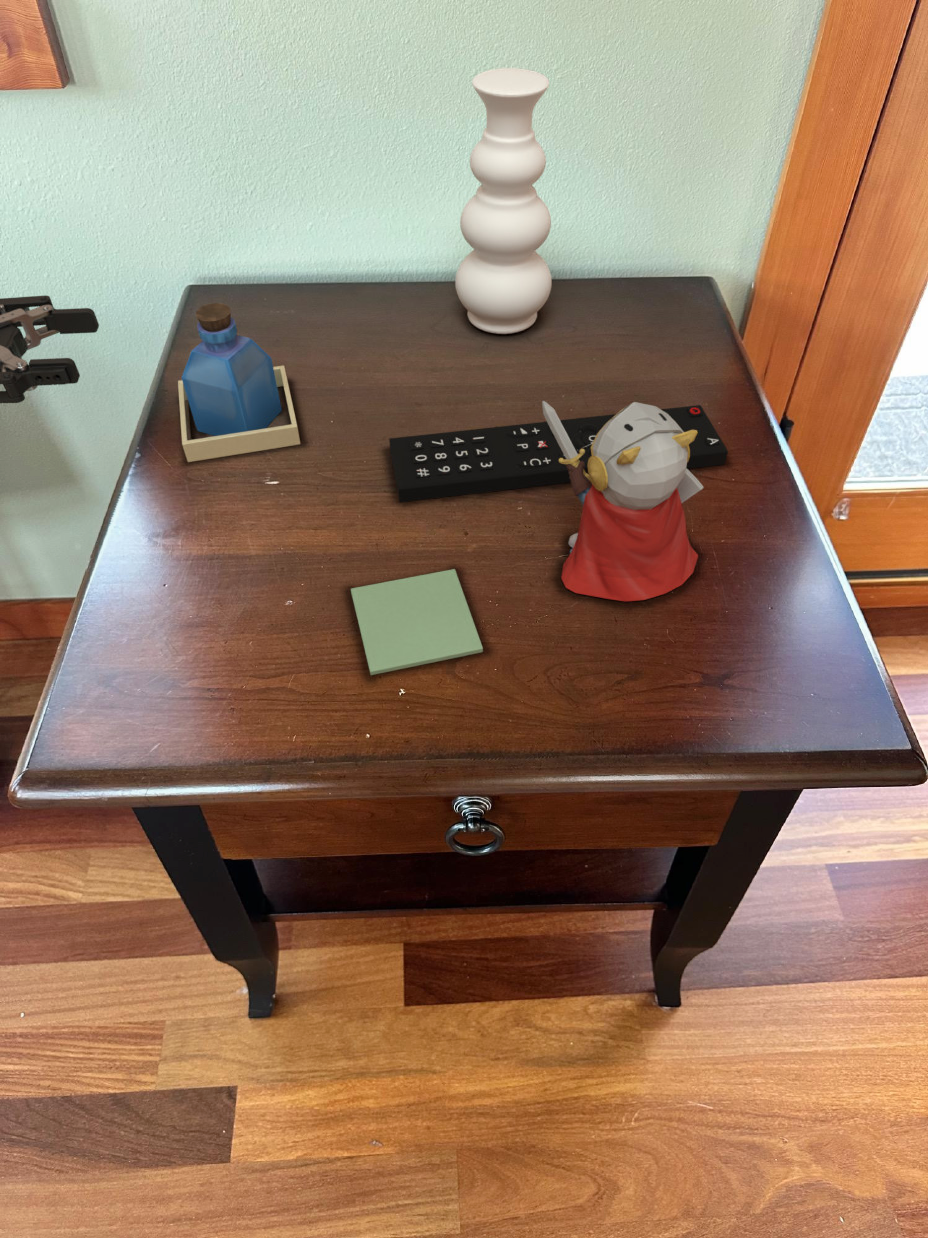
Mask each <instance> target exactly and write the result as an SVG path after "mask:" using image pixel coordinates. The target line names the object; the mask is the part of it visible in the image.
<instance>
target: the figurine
mask: <svg viewBox="0 0 928 1238" xmlns="http://www.w3.org/2000/svg"><path fill="white" fill-rule="evenodd" d="M541 405H542V415H543V417H544V419H545V422H547V423H548V425H549V427H550V428H551V430H552V432H553V434H554V436H555V438H556V440H557V442H558V444H559V446H560V448H561V450H562V451H563V453H564V455H565V457H566V459H563V458H560V459H559V463H561V464H567V465H566V467H567V469H568V470H569V471H568V473H569V475H570V477H569V478H570V479H571V482H570V485H571V490H572V491H573V493H574V496H575V497H577V498H578V500H579V502H580V503H581V505H582V511H581V517H580V523H579V528H578V531H577V532H576V533H573V534H572V535H570V536H569V539H568V546H569V547H571V549H570V550H569V555H568V557H567V558H566V560H565V561H564V563H563V565H562V571H561V576H560V577H561V581H562V582H563V585H564V587H565V588H566V589H567V590H569V591H571V592H573V593H575V594H578V595H584V596H589V597H590V596H591V597H595V598H601V599H606V600H612V601H618V602H625V603H626V602H638V601H645V600H649V599H652V598H655V597H659V596H663V595H665V594H667V593H669V592H671V591H673V590H675V589H677V588H679V587H680V586H683V584H685V582H686V581H687V580H688V579H689V578H690V576H691V575H692V574H693V573H694V571H695V567H696V565H697V561H698V558H699V554H698V553H697V552H696V551H695V550H694V548H693V547H692V545H691V543H690V541H689V537H688V534H687V523H686V516H685V510H684V507H683V503H685V502H686V501H687V500H689V499H690V498H691V497H693V496H694V495H696V494H697V493H699V492H700V491H702V490H703V489H704V486H703V484H702V483H701V482H700V481H699V479H698V478H697V477H696V476H695V475H694V474H693V473H692V472H691V471H690V469H687V468H686V466H687V462H688V461H689V458H690V448H689V444H690V443H691V442H693V441H694V439H695V437H696V435H697V433H698V432H697V430H690V431H687V432H683V430H682V429H681V428H680V427H679V425H678V424H677V423H676V422H675V421H674V420H673V419H672V418H671V417H670V416H669V415H668V414H667V413H666V412H664V411H662V410H661V409H662V408H659V407H657V406H656V405H651V404H647V403H643V402H642V403H641V402H637V401H634V402H632V403H630V404H628V405H626V406H625V407H624V408H621V409H620V410H619V411H618V412H617V413H615V414H616V415H615V416H614V417H613V418H611V419H610V420H609V421H608V422H607V423H606V424H605V425H604V426H603V427H602V429H601V430H600V431H599V432H598V433H597V435H596V437H595V439H594V442H593V443H592V446H591V453H592V456H591V457H590V458H589V460H588V473H589V474H587V473H586V472H585V470H584V468H585V463H584V461H582V460H581V461H579V458H580V457H581V456H582V455H583V454H584V453H585V450H584V449H580V451H579V452H580V453H579V454H577V452H576V450H575V448H574V446H573V444H572V443H571V441H570V439H569V437H568V435H567V433H566V431H565V429H564V427H563V425H562V423H561V421H560V420H561V419H560V418H559V416H558V413H557V412H556V410H555V409H554V407H552V406H551V405H550V404H549V403H548V402H547V401H545V400H542V402H541ZM590 445H591V444H590ZM587 446H588V445H587ZM585 447H586V446H585ZM583 448H584V447H583ZM591 453H590V454H591ZM590 454H589V455H590ZM586 457H587V456H586ZM586 457H585V458H586Z"/></svg>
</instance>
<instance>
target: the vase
mask: <svg viewBox="0 0 928 1238" xmlns="http://www.w3.org/2000/svg"><path fill="white" fill-rule="evenodd" d="M471 81H472V82H471V84H472V87H473V89H474V90H475V92H476V94H477V95H478V97H479V98H480V99H481V101H482V103H483V104H484V106H485V111H486V127H485V128H484V129H483V131H482V136H481V139H480V140H479V141H478V142H477V143H476V144H475V146H474V147H473V149H472V150H471V153H470V156H469V167H470V171H471V173H472V175H473V177H475V179H476V181H478V182H479V184H481V185H480V186H478V188H477V189H476V193H475V195H473V196H472V197H471V198H470V199H469V200H468V201H467V203H465V205H464V207H463V209H462V211H461V215H460V219H459V220H460V221H459V225H460V231H461V234H462V236H463V238H464V240H465V241H466V243H467V244H468V245H469V246H470V248H472V249H473V250H472V251H471V252H470V253H468V254H467V255H466V256H465V257H464V259H463V260H462V261H461V263H459V266H458V268H457V271H456V273H455V278H454V279H455V280H454V284H455V291H456V294H457V297H458V299H459V301H460V303H461V304H462V306H463V307H464V308H465V309H466V310H467V318H468V320H469V322H470V323H471V324H472V325H473V326H474V327H476V328H477V329H479V330H480V331H481V330H482V331H484V332H487V333H491V334H497V335H500V334H501V335H507V334H509V335H510V334H515V333H520V332H522V331H525V330H526V329H529V328H530V327H532V326H533V325H534V323H536V320H537V318H538V312H539V311H540V310H541V309H542V308H543V307H544V305H545V304H546V302H547V301H548V299H549V296H550V294H551V292H552V284H553V283H552V274H551V270H550V268H549V266H548V264H547V262H546V260H545V259H544V258H543V257H542V256H541V255H540V254H539V253H538V252H537V251H536V250H538V249H539V248H541V246H542V245H543V244H544V243H545V242H546V240H547V238H548V236H549V234H550V232H551V228H552V218H551V213H550V210H549V208H548V206H547V205H546V203H545V202H544V201H543V199H542V198H541V197H539V196H538V191H537V189H536V188H535V187H534V186H533V185H534V184H535V183H536V182H538V180H539V179H540V178H541V177H542V176H543V174H544V172H545V169H546V166H547V165H546V164H547V158H546V154H545V151H544V149H543V147H542V146H541V145H540V143H539V142H538V141H537V140H536V135H535V134H536V133H535V130H534V129H533V128H532V127H533V113H534V109H535V107H536V105H537V103H538V102H539V101H540V99H541V98H542V97H543V96H544V94H545V92H546V91H547V90H548V89H549V87H550V80H549V78H548V77H547V76H545V75H544V74H542V73H540V72H539V71H535V70H530V69H527V68H518V67H499V68H493V69H488V70H486V71H481V72H480V73H478V74H476V75H475V76H474V77H473V78H472V79H471Z"/></svg>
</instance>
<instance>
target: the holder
mask: <svg viewBox="0 0 928 1238" xmlns="http://www.w3.org/2000/svg"><path fill="white" fill-rule="evenodd" d="M273 369H274V374H275V379H276V384H277V388H281V387H283V392H284V395H285V396H284V397H285V400H286V405H287V410H288V417H289V420H290V424H284V425H279V426H271V427H267V428H265V429H258V430H252V431H246V432H239V433H233V434H226V435H220V436H214V435H212V436H207V437H201V438H195V439H192V433H191V419H190V405H189V401H188V398H187V395H186V391H185V388H184V385H183V381H182V379H180V380H178V381H177V389H178V401H179V402H178V403H179V405H178V406H179V419H180V431H181V432H180V433H181V434H180V435H181V446H182V448H183V449H182V450H183V452H184V455H185V459H186V461H187V463H193V462H199V461H205V460H211V459H217V458H224V457H229V456H235V455H242V454H249V453H256V452H260V451H268V450H273V449H280V448H287V447H292V446H299V445H301V440H300V433H299V427H298V422H297V419H296V414H295V410H294V409H295V408H294V404H293V400H292V396H291V391H290V386H289V385H290V384H289V381H288V376H287V372H286V368H285V365H277V366H273Z"/></svg>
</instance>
